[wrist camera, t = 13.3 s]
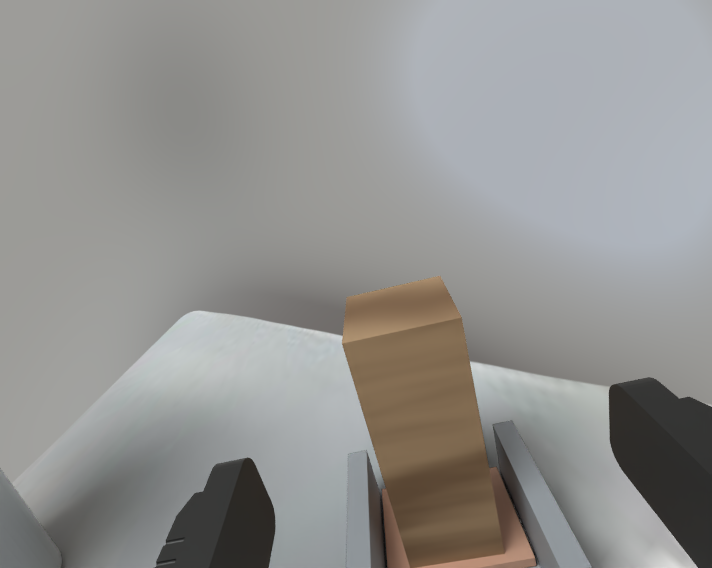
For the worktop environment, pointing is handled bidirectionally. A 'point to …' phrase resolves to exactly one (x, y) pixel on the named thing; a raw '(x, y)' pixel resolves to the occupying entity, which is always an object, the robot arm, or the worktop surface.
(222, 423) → the worktop surface
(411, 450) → the walnut block
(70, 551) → the worktop surface
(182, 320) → the worktop surface
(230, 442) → the worktop surface
